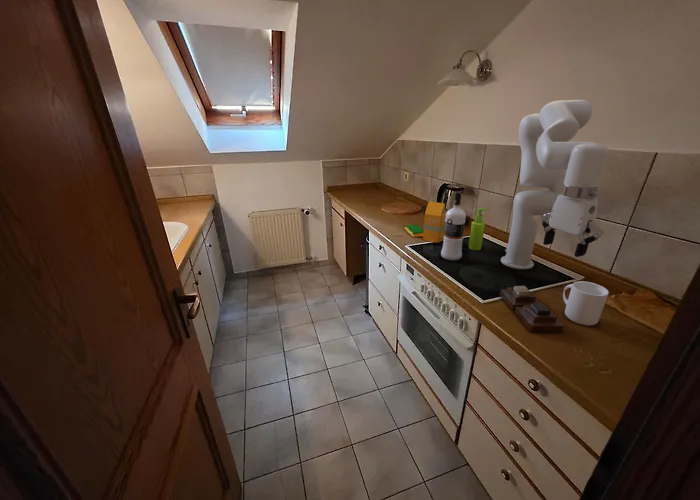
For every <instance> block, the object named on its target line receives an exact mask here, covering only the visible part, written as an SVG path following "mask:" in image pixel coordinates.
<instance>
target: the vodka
mask: <svg viewBox="0 0 700 500" xmlns="http://www.w3.org/2000/svg"><path fill="white" fill-rule="evenodd" d="M462 193H463V192H458V191H457V192H455V193H454V201H453V206H452V208H449V209H448V210H446V212H447V213H446V219H445V221H446V222H445V232H444V239H443V243H442V247H441V250H440V256H441V258H443V259H444V260H445V261H451V262H452V261H454V262H455V261H459V260H461V259H462V257H463V252H462V251H463V240H464V231H465V224H466V218H467V213H466V211H465V210H464V209H462V208H461V200H462Z"/></svg>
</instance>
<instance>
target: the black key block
mask: <svg viewBox="0 0 700 500" xmlns="http://www.w3.org/2000/svg"><path fill="white" fill-rule="evenodd" d="M530 308H531V305H523V307H516V308H515V311H514V314H515V315H516V316H517V318H518V319H519V320H520V321H521V323H523V325H524V326H525V327H526V328H527V329H528V330H529V332H530V333H562V332H563V330H564V327H565V326H564V324H562V322H561V321H560V320H559V319H558V316H556V315H555V313H554V312H552V310H550V314H549V315H536V314H535V313H534V312H533V311H532V310H531V309H530Z"/></svg>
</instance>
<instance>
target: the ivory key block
mask: <svg viewBox="0 0 700 500" xmlns="http://www.w3.org/2000/svg"><path fill="white" fill-rule="evenodd" d="M513 289H514V286H511V287H506V288H505V289H503V288H501V289H499V294H498V295H499V296H500V297H501V298H502V300H503V301H504V302H505V303H506V305H507V306H508V307H509V308H510V309H511V310H512V311H514V312H515V308H516V307H523V305H531V304H542V303H541V302H540V301H539V300H538V299H537V296H536V295H535V294H534V293H533V292H532V291H530V294H529V295H517V294H516V293H515V292H514V291H513Z"/></svg>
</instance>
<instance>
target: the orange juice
mask: <svg viewBox="0 0 700 500" xmlns="http://www.w3.org/2000/svg"><path fill="white" fill-rule="evenodd" d="M446 213H447V208H446V203H445V202H444V203H443V202H437V201H428V203H427V205H426V208H425V211H424V219H423V230H424V232H423V236H422V240H424V241H428V242H432V243H436V244H439V243H441V242H442V241H444V232H445V222H446V221H445V219H446Z"/></svg>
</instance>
